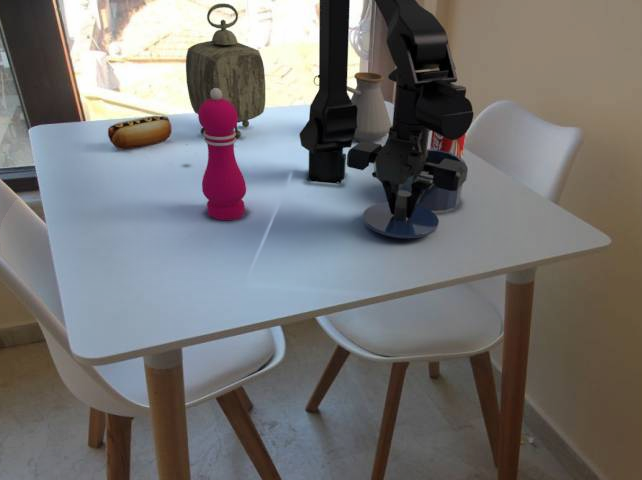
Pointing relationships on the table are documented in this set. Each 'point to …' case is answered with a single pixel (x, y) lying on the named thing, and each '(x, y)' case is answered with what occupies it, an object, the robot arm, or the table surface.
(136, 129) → the hot dog
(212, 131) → the pepper mill
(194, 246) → the table surface
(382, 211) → the lid
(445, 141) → the soda can
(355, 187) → the table surface
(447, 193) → the pot
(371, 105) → the coffee pot
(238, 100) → the tabletop clock
